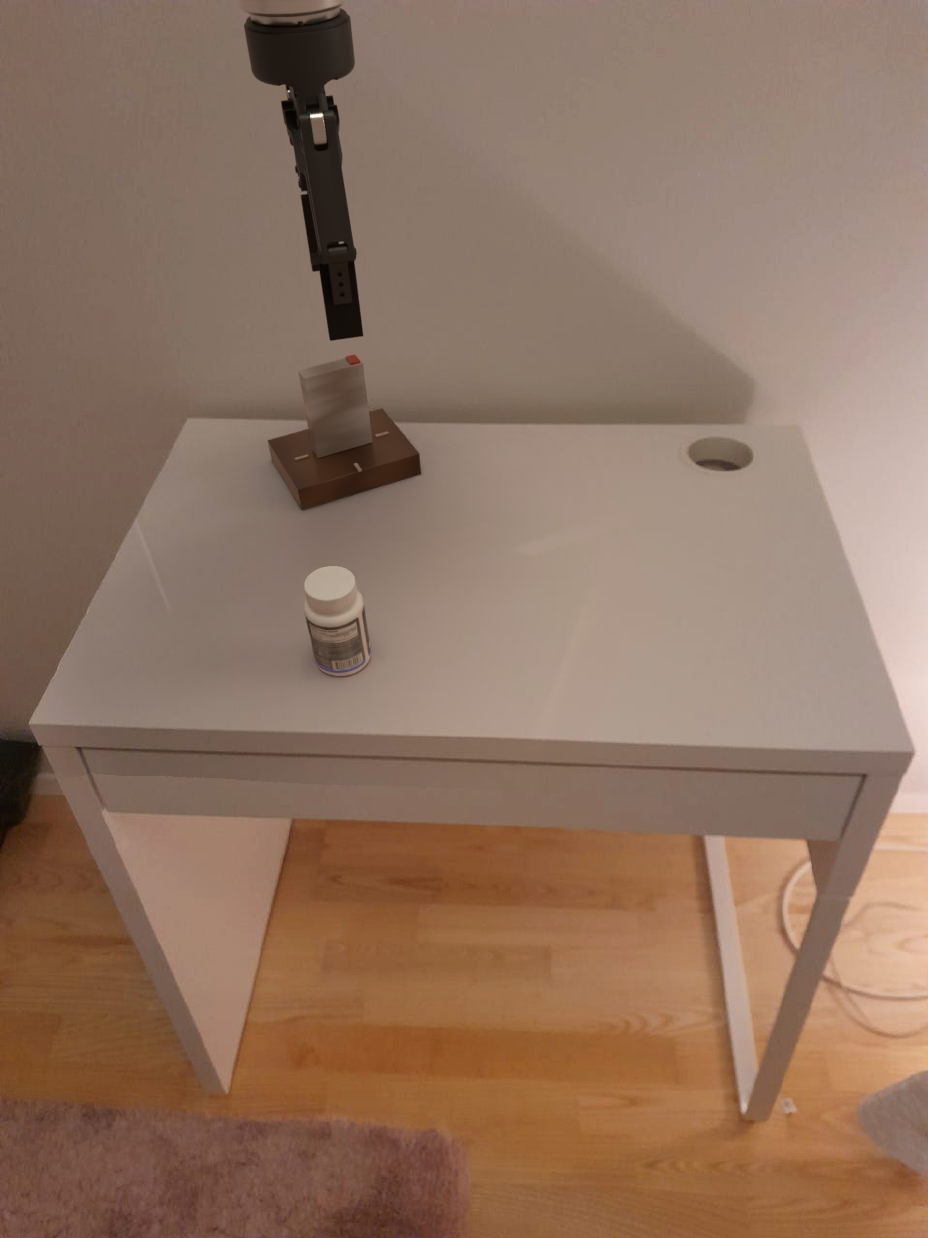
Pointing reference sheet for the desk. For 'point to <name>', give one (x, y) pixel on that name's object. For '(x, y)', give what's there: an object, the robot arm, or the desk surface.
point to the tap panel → (344, 463)
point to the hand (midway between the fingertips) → (336, 300)
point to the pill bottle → (336, 621)
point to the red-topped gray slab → (336, 405)
